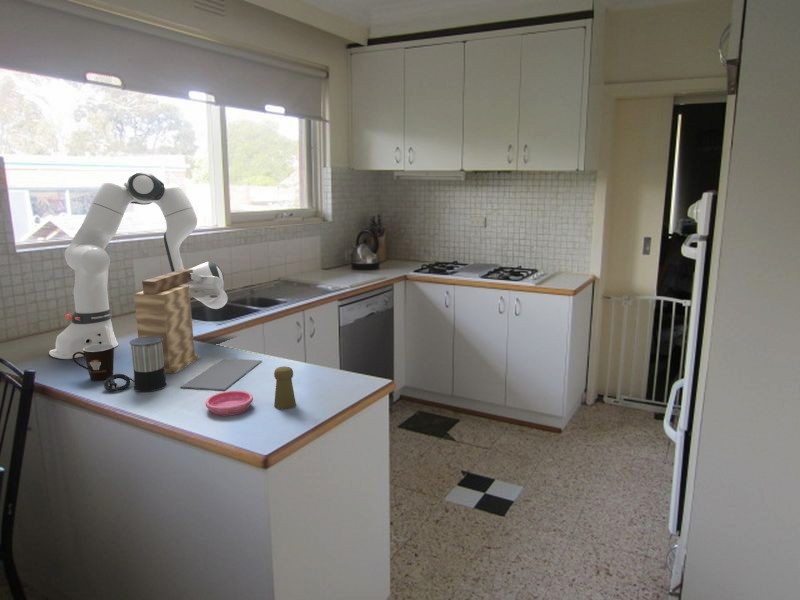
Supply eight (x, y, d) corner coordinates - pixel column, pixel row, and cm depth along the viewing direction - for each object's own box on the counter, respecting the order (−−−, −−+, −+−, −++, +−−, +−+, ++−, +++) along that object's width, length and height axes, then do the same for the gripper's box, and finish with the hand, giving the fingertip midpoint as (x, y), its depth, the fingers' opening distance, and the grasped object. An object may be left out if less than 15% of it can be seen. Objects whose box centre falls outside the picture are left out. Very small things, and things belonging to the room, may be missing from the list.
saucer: (199, 418, 150) (198, 407, 150) (214, 400, 162) (213, 390, 162) (246, 418, 150) (246, 407, 150) (258, 400, 162) (257, 390, 162)
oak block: (174, 373, 184) (167, 295, 179) (137, 371, 186) (129, 293, 181) (198, 358, 200) (193, 285, 194) (164, 356, 202) (158, 284, 196)
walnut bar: (154, 294, 180) (153, 281, 179) (143, 293, 180) (142, 281, 180) (193, 280, 203) (192, 269, 202) (183, 280, 204) (182, 269, 203)
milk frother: (172, 387, 173) (168, 339, 169) (118, 401, 161) (113, 351, 158) (152, 376, 182) (148, 331, 179) (100, 388, 171) (94, 341, 168)
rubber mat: (224, 390, 169) (224, 389, 169) (180, 388, 171) (180, 386, 171) (261, 361, 196) (261, 360, 196) (223, 359, 198) (223, 358, 198)
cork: (275, 401, 161) (273, 364, 159) (297, 400, 162) (295, 363, 159) (272, 409, 155) (270, 371, 153) (295, 409, 156) (293, 370, 154)
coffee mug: (123, 375, 183) (120, 345, 181) (101, 383, 175) (98, 352, 173) (95, 371, 187) (91, 341, 185) (72, 379, 179) (69, 349, 177)
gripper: (177, 279, 215) (157, 265, 202) (228, 281, 212) (211, 267, 199) (173, 295, 213) (153, 282, 200) (225, 297, 210) (208, 284, 197)
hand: (183, 275), depth 200 cm, fingers closed on walnut bar, 4 cm apart
